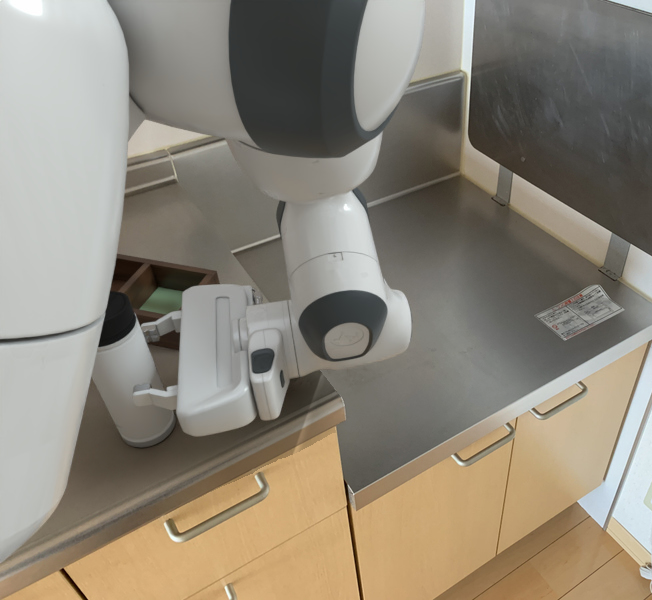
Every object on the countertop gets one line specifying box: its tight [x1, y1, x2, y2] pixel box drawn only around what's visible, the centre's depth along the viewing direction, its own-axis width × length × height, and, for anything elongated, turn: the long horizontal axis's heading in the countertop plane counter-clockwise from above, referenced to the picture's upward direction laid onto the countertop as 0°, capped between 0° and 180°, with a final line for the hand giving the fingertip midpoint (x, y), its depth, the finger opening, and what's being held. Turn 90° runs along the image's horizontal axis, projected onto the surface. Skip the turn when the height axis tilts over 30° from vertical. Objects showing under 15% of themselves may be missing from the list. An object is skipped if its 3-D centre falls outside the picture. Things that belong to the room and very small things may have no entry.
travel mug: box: [91, 291, 177, 448], centre depth 66 cm, size 6×7×20 cm
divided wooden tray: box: [110, 253, 221, 351], centre depth 87 cm, size 11×21×6 cm, turn 75°
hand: (137, 363), depth 66 cm, fingers open, 8 cm apart
